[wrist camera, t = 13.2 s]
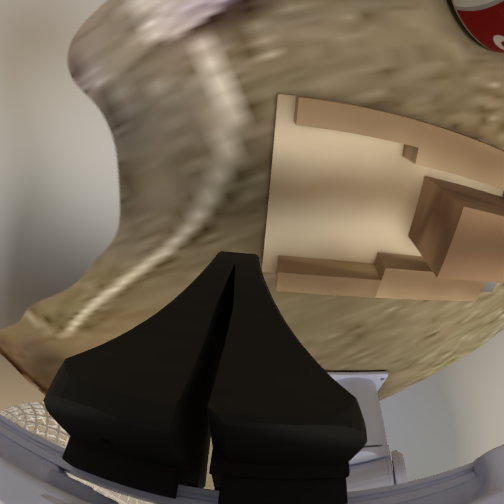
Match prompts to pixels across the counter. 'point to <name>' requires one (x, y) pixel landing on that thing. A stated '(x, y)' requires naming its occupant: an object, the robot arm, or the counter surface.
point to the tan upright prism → (459, 231)
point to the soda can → (483, 21)
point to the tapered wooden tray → (362, 199)
